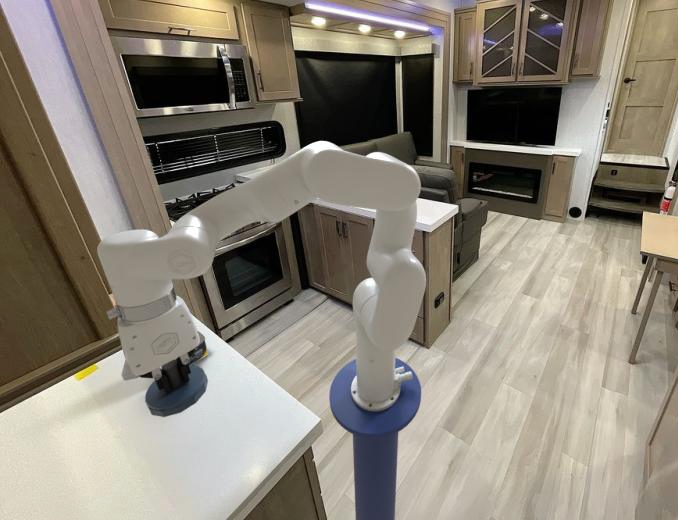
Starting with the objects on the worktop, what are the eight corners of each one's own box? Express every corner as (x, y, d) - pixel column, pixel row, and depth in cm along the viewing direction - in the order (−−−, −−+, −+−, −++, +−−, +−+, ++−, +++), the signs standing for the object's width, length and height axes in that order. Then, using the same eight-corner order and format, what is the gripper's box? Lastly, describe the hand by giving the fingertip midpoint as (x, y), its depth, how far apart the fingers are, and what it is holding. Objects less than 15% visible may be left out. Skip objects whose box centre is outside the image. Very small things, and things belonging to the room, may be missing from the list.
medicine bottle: (182, 371, 85) (171, 336, 81) (169, 360, 89) (158, 325, 84) (208, 354, 91) (200, 320, 87) (195, 344, 94) (186, 311, 90)
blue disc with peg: (210, 367, 66) (203, 340, 63) (202, 406, 58) (193, 377, 55) (157, 380, 63) (147, 352, 60) (140, 423, 55) (128, 393, 52)
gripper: (88, 339, 45) (127, 428, 52) (209, 290, 56) (228, 367, 63) (78, 317, 49) (116, 401, 56) (193, 275, 61) (212, 349, 68)
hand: (175, 382), depth 60 cm, fingers closed on blue disc with peg, 2 cm apart
